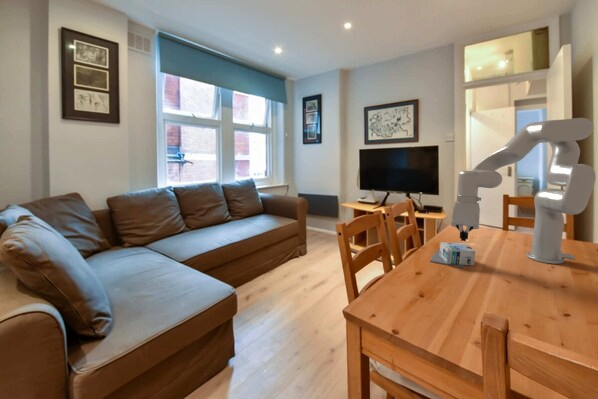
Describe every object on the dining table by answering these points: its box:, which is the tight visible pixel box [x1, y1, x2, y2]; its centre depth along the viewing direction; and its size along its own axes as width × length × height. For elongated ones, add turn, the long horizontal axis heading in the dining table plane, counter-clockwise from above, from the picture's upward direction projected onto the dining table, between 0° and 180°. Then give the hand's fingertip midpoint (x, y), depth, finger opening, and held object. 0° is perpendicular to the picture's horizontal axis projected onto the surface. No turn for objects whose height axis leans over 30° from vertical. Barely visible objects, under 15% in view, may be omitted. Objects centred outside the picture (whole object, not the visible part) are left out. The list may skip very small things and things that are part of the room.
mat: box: [429, 247, 466, 269], centre depth 125 cm, size 13×20×1 cm, turn 144°
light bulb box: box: [439, 241, 476, 266], centre depth 120 cm, size 11×7×11 cm
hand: (463, 240), depth 121 cm, fingers closed
